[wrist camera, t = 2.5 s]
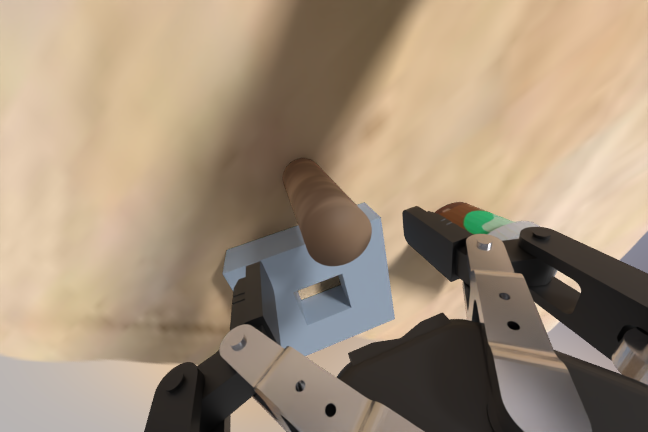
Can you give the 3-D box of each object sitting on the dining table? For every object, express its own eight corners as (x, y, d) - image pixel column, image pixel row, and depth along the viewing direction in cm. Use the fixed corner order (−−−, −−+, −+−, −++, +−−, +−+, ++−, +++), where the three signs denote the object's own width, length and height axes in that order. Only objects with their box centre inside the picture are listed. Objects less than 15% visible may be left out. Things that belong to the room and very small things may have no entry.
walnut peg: (316, 153, 23) (366, 196, 13) (325, 189, 25) (375, 252, 15) (277, 165, 23) (296, 220, 13) (289, 201, 25) (315, 275, 14)
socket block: (364, 202, 27) (380, 217, 24) (380, 297, 35) (394, 319, 32) (226, 250, 25) (222, 273, 22) (276, 339, 33) (278, 367, 30)
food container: (499, 214, 34) (584, 253, 25) (471, 248, 36) (541, 296, 27) (446, 177, 29) (529, 211, 20) (416, 219, 30) (481, 267, 22)
